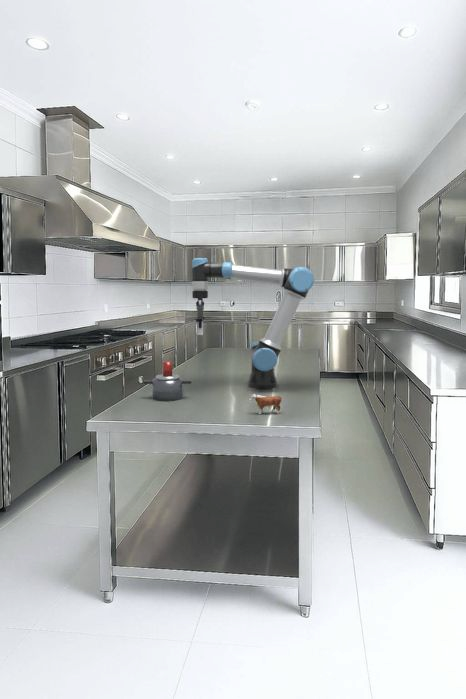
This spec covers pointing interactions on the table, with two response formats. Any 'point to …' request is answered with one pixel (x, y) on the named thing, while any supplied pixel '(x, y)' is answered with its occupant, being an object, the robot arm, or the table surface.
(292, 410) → the table surface
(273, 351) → the robot arm
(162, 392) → the pot
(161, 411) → the table surface
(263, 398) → the bull figurine
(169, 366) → the lid
